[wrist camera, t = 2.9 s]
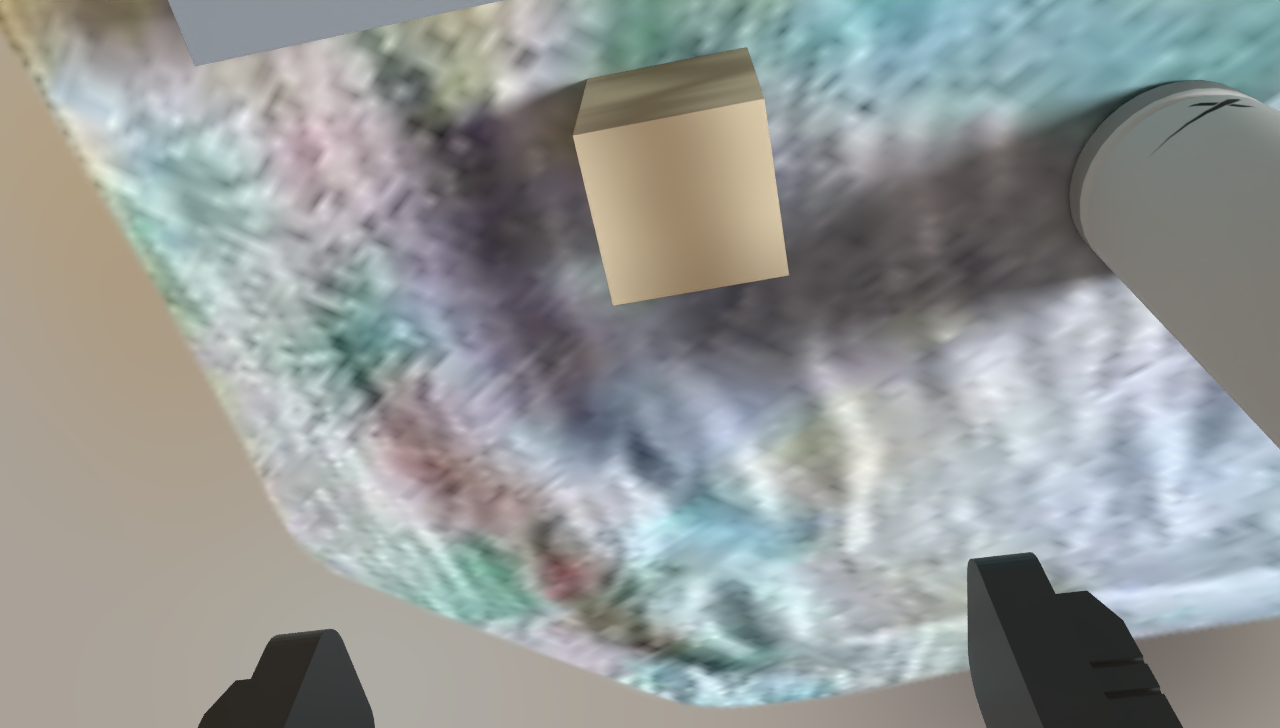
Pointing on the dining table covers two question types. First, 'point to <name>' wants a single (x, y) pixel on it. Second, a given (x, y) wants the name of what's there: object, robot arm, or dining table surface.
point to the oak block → (681, 177)
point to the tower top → (289, 22)
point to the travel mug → (1195, 227)
